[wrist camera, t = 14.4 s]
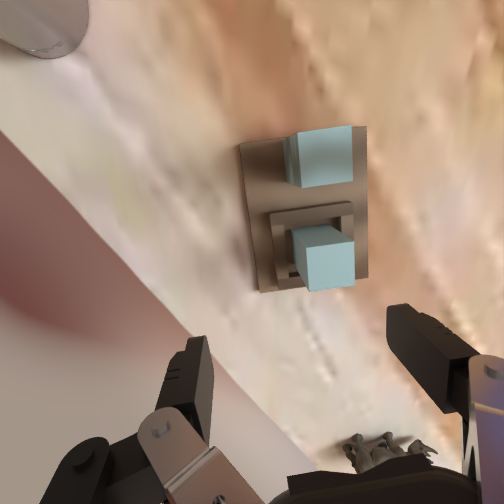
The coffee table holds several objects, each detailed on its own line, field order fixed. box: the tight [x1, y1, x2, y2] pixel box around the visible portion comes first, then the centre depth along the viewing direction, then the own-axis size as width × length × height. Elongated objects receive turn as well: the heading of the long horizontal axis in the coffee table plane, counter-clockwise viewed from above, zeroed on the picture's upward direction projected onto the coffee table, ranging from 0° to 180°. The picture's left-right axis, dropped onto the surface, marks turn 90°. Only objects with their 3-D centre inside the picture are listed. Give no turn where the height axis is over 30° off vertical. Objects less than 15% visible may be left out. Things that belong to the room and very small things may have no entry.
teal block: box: [291, 224, 355, 292], centre depth 31 cm, size 4×4×8 cm
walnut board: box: [239, 125, 368, 293], centre depth 30 cm, size 18×14×9 cm
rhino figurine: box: [343, 432, 438, 474], centre depth 43 cm, size 4×14×6 cm, turn 93°
